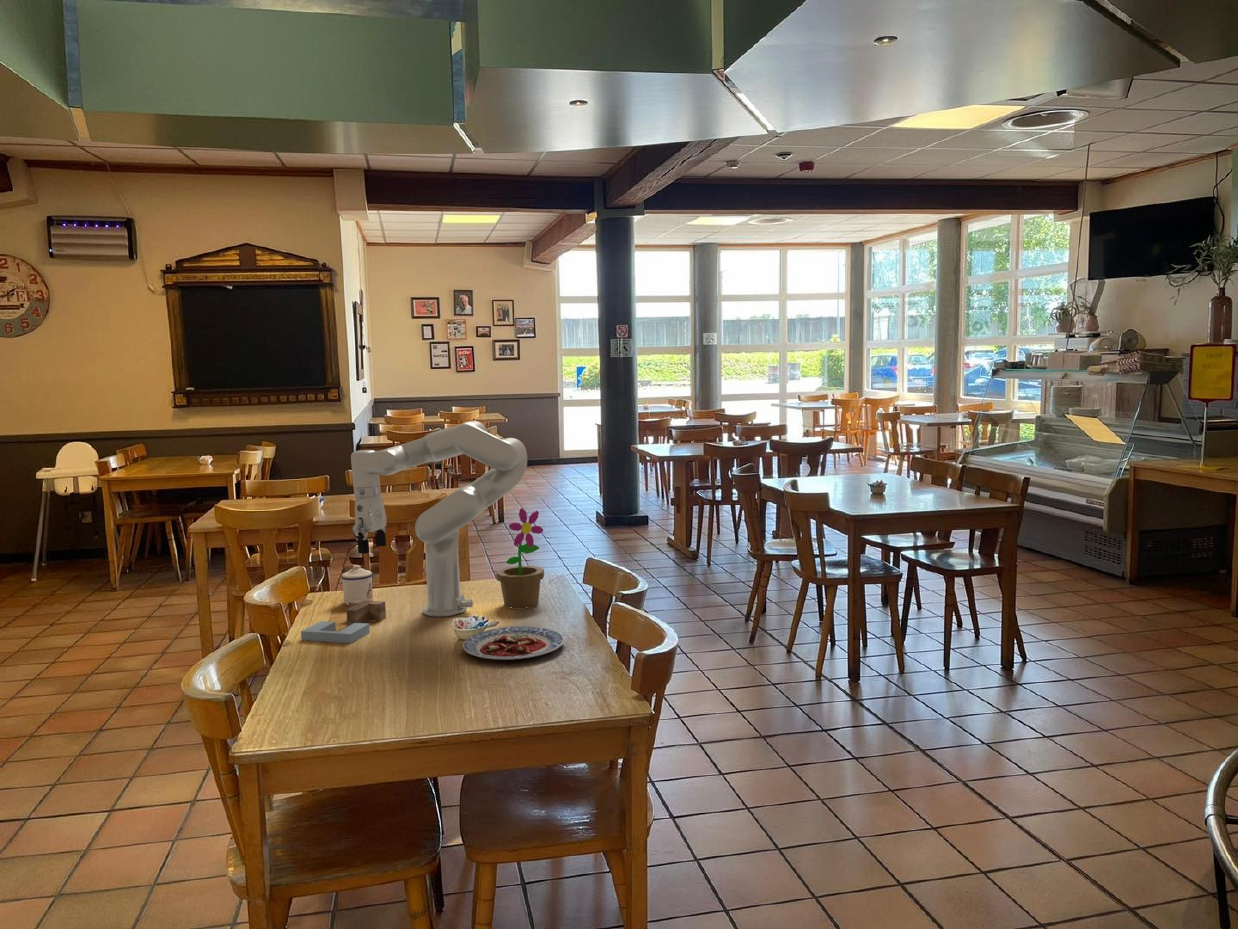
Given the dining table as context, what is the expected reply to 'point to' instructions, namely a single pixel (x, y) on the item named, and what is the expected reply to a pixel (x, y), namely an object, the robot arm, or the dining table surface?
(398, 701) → the dining table surface
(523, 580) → the flowerpot
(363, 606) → the t block
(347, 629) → the dock
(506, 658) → the ceramic plate
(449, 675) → the dining table surface
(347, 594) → the teacup with lid
